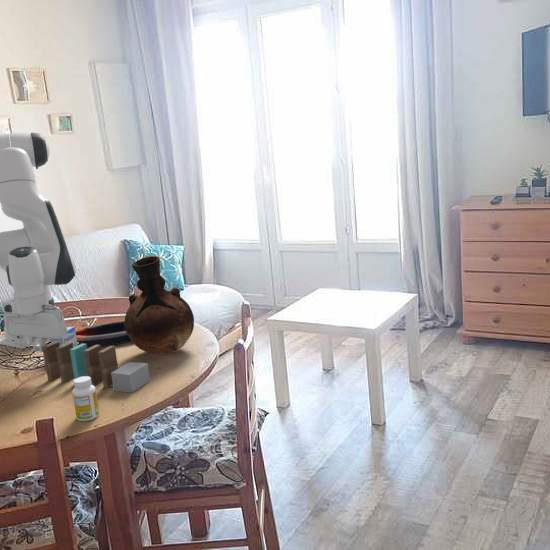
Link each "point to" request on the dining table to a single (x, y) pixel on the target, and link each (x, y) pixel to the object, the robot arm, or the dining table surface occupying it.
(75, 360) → the domino
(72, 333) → the medicine box
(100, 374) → the domino
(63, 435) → the dining table surface
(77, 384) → the supplement bottle
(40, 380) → the dining table surface
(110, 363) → the domino
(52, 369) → the domino
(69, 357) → the domino
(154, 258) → the ceramic vessel
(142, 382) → the end block
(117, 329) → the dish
